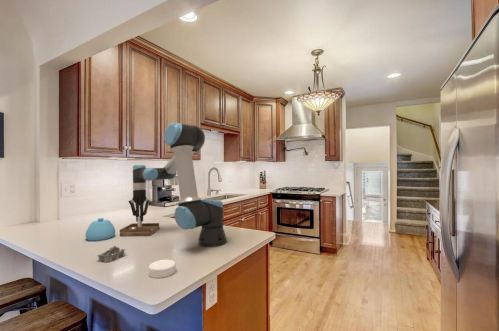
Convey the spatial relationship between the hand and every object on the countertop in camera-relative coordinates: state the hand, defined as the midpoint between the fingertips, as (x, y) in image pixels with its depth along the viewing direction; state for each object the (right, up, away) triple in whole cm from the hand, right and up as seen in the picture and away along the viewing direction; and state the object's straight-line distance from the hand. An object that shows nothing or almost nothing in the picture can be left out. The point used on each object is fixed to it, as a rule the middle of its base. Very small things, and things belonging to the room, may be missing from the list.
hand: (139, 226), depth 155 cm
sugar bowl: (-18, -4, -11) cm, 21 cm away
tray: (+1, -4, 0) cm, 4 cm away
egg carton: (+7, -4, -43) cm, 44 cm away
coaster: (+35, -4, -59) cm, 69 cm away
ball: (-5, -3, 0) cm, 6 cm away
